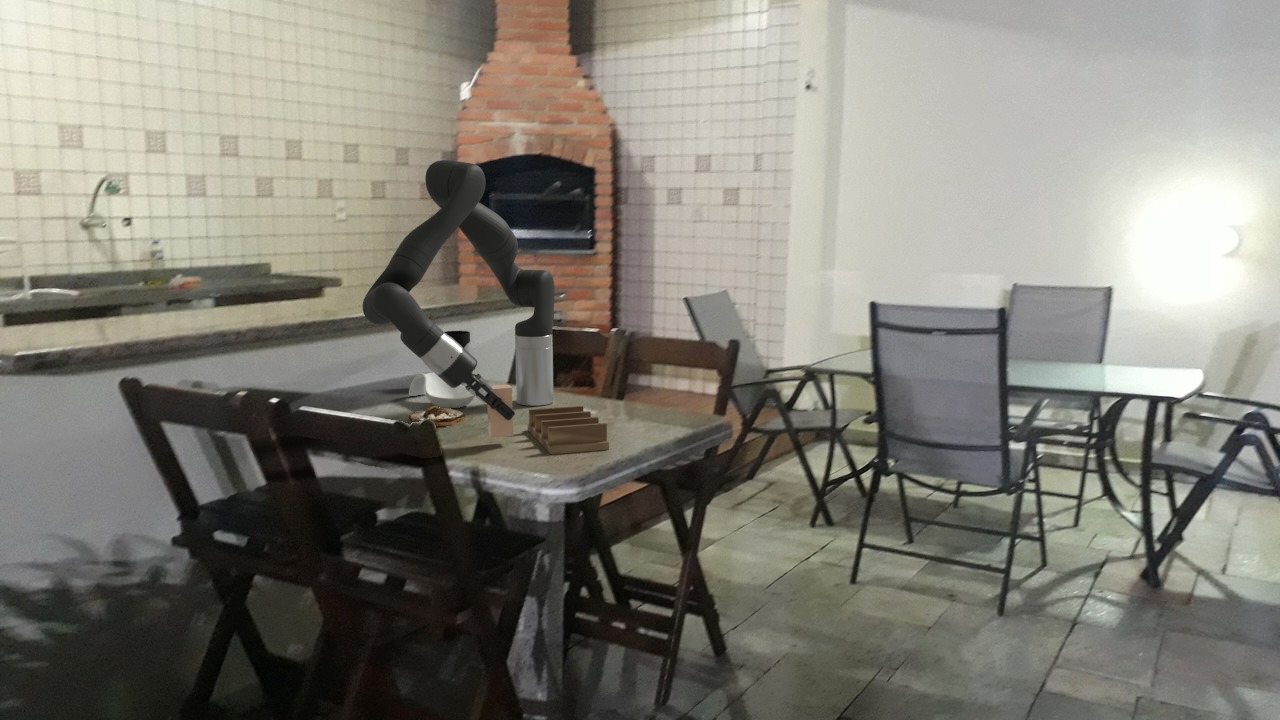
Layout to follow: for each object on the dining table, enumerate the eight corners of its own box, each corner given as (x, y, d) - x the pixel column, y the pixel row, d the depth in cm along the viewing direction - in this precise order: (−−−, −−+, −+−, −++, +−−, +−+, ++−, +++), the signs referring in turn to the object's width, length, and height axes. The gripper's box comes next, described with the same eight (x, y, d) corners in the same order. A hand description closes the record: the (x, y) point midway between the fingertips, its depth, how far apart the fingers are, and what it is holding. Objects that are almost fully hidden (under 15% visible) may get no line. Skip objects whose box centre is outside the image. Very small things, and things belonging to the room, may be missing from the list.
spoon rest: (484, 407, 231) (483, 379, 230) (442, 414, 223) (441, 384, 222) (435, 394, 249) (434, 367, 247) (394, 400, 241) (393, 372, 240)
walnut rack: (527, 430, 206) (527, 407, 206) (580, 426, 210) (580, 404, 210) (550, 454, 186) (550, 429, 185) (609, 449, 190) (608, 425, 189)
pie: (459, 414, 225) (458, 397, 224) (478, 426, 212) (477, 408, 211) (396, 420, 218) (396, 402, 217) (412, 433, 205) (411, 415, 204)
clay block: (488, 433, 194) (486, 385, 193) (509, 431, 196) (508, 384, 194) (491, 437, 191) (489, 389, 190) (513, 435, 193) (512, 387, 191)
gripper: (466, 351, 181) (529, 408, 187) (456, 341, 195) (515, 394, 201) (439, 379, 181) (503, 436, 187) (431, 367, 194) (491, 420, 200)
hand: (509, 414), depth 193 cm, fingers closed on clay block, 3 cm apart
